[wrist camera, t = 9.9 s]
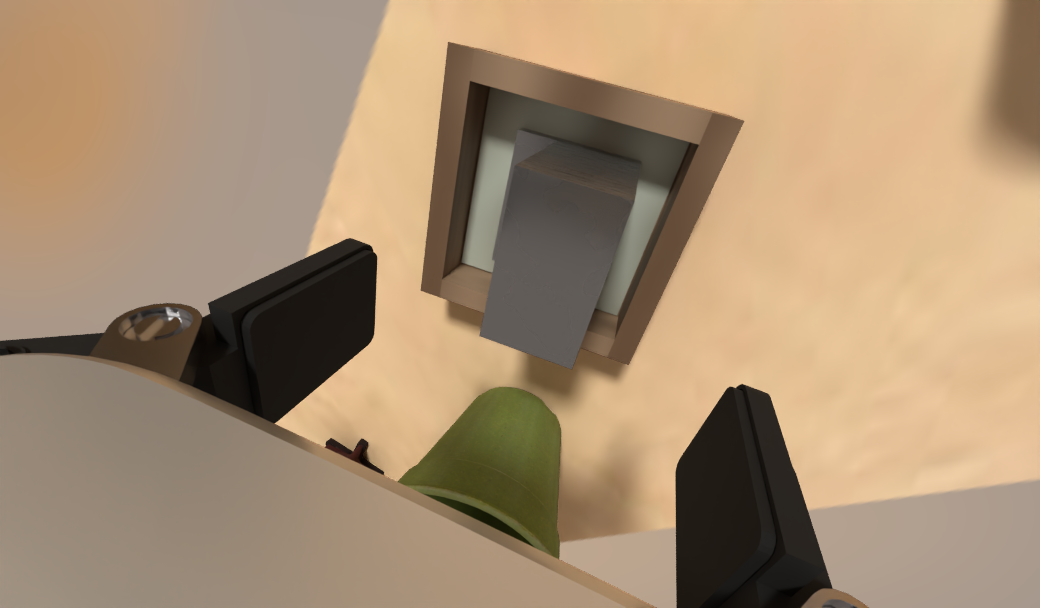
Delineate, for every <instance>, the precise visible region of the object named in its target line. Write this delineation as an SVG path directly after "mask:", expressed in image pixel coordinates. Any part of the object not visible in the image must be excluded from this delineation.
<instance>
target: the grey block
mask: <svg viewBox="0 0 1040 608" xmlns="http://www.w3.org/2000/svg"><path fill="white" fill-rule="evenodd" d="M640 166H641V161H639V160H636V159H632V158H629V157H625V156H622V155H618V154H614V153H611V152H607V151H604V150H600V149H597V148H593V147H590V146H586V145H583V144H579V143H576V142H572V141H569V140H565V139H562V138H558V137H554V136H551V135H547V134H544V133H540V132H537V131H533V130H530V129H526V128H521V129H518V131H517V136H516V141H515V146H514V151H513V156H512V161H511V166H510V171H509V176H508V181H507V186H506V191H505V196H504V201H503V206H502V211H501V216H500V221H499V226H498V231H497V236H496V241H495V246H494V251H493V256H492V260H494V261H495V263H494V268H493V272H492V277H491V282H490V287H489V292H488V297H487V302H486V307H485V311H484V316H483V321H482V326H481V331H480V336H481V337H484V338H487V339H489V340H492V341H495V342H498V343H500V344H503V345H506V346H509V347H511V348H514V349H517V350H520V351H522V352H525V353H528V354H531V355H534V356H536V357H539V358H542V359H545V360H547V361H550V362H553V363H556V364H558V365H561V366H564V367H567V368H569V369H572V368H573V365H574V363H575V360H576V357H577V354H578V352H579V349H580V346H581V344H582V341H583V338H584V336H585V333H586V330H587V328H588V325H589V322H590V320H591V317H592V314H593V312H594V309H595V306H596V304H597V301H598V298H599V296H600V293H601V290H602V287H603V285H604V282H605V279H606V277H607V274H608V271H609V269H610V266H611V263H612V261H613V258H614V255H615V253H616V250H617V247H618V245H619V242H620V239H621V237H622V234H623V231H624V228H625V226H626V223H627V220H628V218H629V215H630V212H631V210H632V207H633V204H634V202H635V196H636V190H637V184H638V178H639V172H640Z"/></svg>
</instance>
